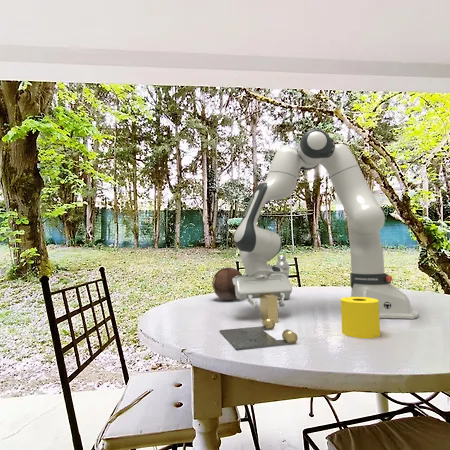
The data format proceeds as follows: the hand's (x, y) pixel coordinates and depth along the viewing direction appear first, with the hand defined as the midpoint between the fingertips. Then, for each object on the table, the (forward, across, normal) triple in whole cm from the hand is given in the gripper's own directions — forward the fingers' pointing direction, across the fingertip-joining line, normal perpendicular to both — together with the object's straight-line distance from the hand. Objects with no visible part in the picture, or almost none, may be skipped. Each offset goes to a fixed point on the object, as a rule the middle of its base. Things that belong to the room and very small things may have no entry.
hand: (269, 306), depth 112 cm
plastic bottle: (-22, +21, +29) cm, 42 cm away
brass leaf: (+3, 0, +4) cm, 5 cm away
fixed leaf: (+15, -11, -9) cm, 21 cm away
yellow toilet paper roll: (+20, +18, -13) cm, 30 cm away
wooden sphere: (-28, -2, +35) cm, 45 cm away
